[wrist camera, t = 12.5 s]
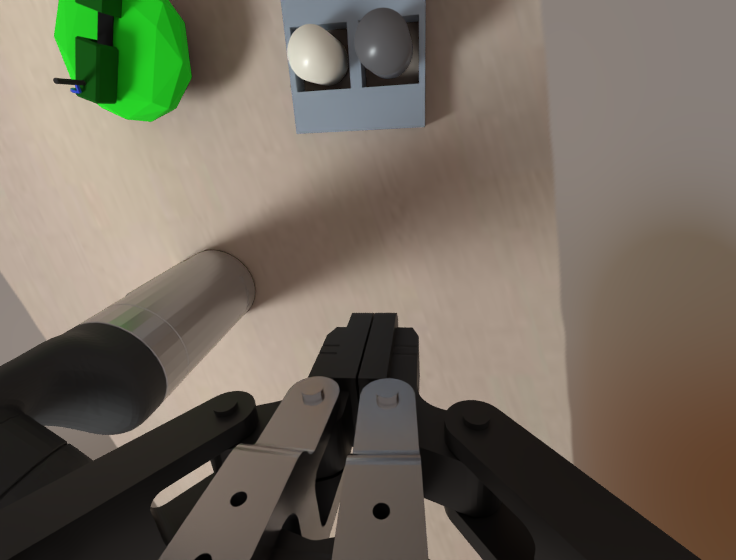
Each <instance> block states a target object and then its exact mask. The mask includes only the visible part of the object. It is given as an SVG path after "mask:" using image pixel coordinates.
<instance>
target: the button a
mask: <svg viewBox="0 0 736 560" xmlns="http://www.w3.org/2000/svg"><path fill="white" fill-rule="evenodd" d="M287 55H288V60H289V64H290V66H291V68H292V70H293V71H294V72H295V74H296V75H297V76H299V77H300V78H302V79H303V80H306V81H309V82H313V83H317V84H320V85H324V86H332V85H335V84H337V83H339V82H340V81H341V80H342V79H343V78H344V76H345V74H346V72H347V69H348V55H347V52H346V49H345V47H344V46H343V44H342V43H341V42H340V41H339V40H337V39H336V38H335V37H334V36H332V35H331V34H330V33H329V32H327V31H326V30H325V29H324V28H322V27H320V26H318V25H315V24H306V25H303V26H301V27H299V28H298V29H296V30H295V31H294V33H293V34H292V36H291V37H290V40H289V43H288V48H287Z"/></svg>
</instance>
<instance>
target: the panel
mask: <svg viewBox="0 0 736 560" xmlns="http://www.w3.org/2000/svg"><path fill="white" fill-rule="evenodd" d="M281 6H282V15H283V23H284V32H285V40H286V48H288V43H289V40H290V37H291V36H292V34H293V33H294V31H295V30H296V29H298V28H299V27H301V26H303V25H306V24H315V25H318V26H320V27H322V28H324V29H325V30H335V29H345V28H347V35H348V50H349V66H350V82H351V88H350V89H336V90H322V91H308V92H305V86H304V80H303V79H302V78H300V77H299V76H297V75H296V74H295V72H294V71H293V70H292V68H291V66H290V64H289V60H288V65H289V73H290V82H291V90H292V98H293V107H294V115H295V124H296V132H297V134H301V133H320V132H339V131H358V130H377V129H395V128H414V127H425V34H426V0H281ZM383 7H385V8H390V9H393V10H395V11H396V12H398V13H399V14H400V15H401V16H402V17H403V18H404V20H405V22H406V23H407V22H418V21H419V84H406V85H392V86H378V87H366V73H365V66H364V65H363V64H362V63H361V62H360V60H359V58H358V56H357V54H356V51H355V45H354V38H355V32H356V29H357V26H358V24H359V22H360V21H361V19H362V18H363V17H364V16H365V15H366V14H367V13H368V12H370V11H371V10H373V9H376V8H383ZM287 57H288V55H287Z"/></svg>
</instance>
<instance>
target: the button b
mask: <svg viewBox="0 0 736 560" xmlns="http://www.w3.org/2000/svg"><path fill="white" fill-rule="evenodd" d="M354 45H355V51H356V54H357V56H358V58H359V60H360V62H361V63H362V64H363V65H364V66H365V67H366V68H367V69H369V70H370V71H371V72H373V73H374V74H375V75H377V76H379V77H381V78H384V79H392V78H396V77H398V76H400V75H401V74H402V73H404V72H405V70H406V69H407V68H408V66H409V64H410V62H411V59H412V55H413V46H412V41H411V37H410V33H409V29H408V26H407V24H406V22H405V20H404V18H403V17H402V16H401V15H400V14H399V13H398V12H396V11H395V10H393V9H390V8H385V7H383V8H376V9H373V10H371V11H370V12H368V13H367V14H366V15H365V16H364V17H363V18H362V19H361V21H360V22H359V24H358V26H357V29H356V32H355V38H354Z"/></svg>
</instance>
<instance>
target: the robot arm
mask: <svg viewBox="0 0 736 560" xmlns="http://www.w3.org/2000/svg"><path fill="white" fill-rule="evenodd" d="M254 297H255V286H254V282H253V279H252V277H251V275H250V273H249V271H248V270H247V269H246V267H245V266H244V265H243V264H242V263H241V262H240V261H239V260H238V259H236V258H234V257H233V256H231V255H229V254H227V253H224V252H221V251H216V250H207V251H203V252H200V253H198V254H196V255H194V256H193V257H191V258H189V259H188V260H186V261H184V262H180V263H178V264H177V265H175V266H173V267H172V268H170V269H168V270H167V271H165V272H163V273H162V274H160V275H158V276H156V277H155V278H153V279H151V280H150V281H148V282H146V283H145V284H143V285H141V286H140V287H138V288H136V289H135V290H133V291H131V292H129V293H128V294H127V295H126V296H125V297H124V298H122V299H120V300H119V301H117V302H115V303H114V304H112V305H110V306H109V307H107V308H106V309H104V310H102V311H101V312H99V313H97V314H96V315H94V316H92V317H91V318H89V319H87V320H86V321H84V322H82V323H81V324H79V325H77V326H76V327H74V328H72V329H70V330H69V331H67V332H65V333H64V334H62V335H59V336H57V337H54V338H51V339H49V340H47V341H45V342H43V343H41V344H39V345H37V346H36V347H34V348H32V349H31V350H29V351H27V352H26V353H23V354H22V355H20V356H18V357H17V358H15V359H13V360H11V361H9V362H7V363H5V364H3V365H2V366H0V560H430V559H428V548H427V535H426V521H425V508H424V498H426V499H428V500H431V501H433V502H436V503H438V504H440V505H443V506H444V508H445V511H446V514H447V516H448V517H449V519H450V520H451V522H452V523H453V524H454V525H455V526H456V528H457V529H458V530H459V531H460V532H461V534H462V535H463V536H464V537H465V539H466V540H467V541H468V542H469V543H470V545H471V546H472V547H473V548H474V549H475V551H476V552H477V553H478V554H479V555H480V557H481V558H482V559H483V560H701V559H700V558H698V557H697V556H696V555H694V554H693V553H692V552H690V551H689V550H688V549H686V548H685V547H684V546H682V545H681V544H679V543H678V542H677V541H675V540H674V539H673V538H671V537H670V536H669V535H667V534H666V533H665V532H663V531H662V530H661V529H659V528H658V527H657V526H655V525H654V524H652V523H651V522H650V521H648V520H647V519H646V518H644V517H643V516H642V515H640V514H639V513H638V512H636V511H635V510H634V509H632V508H631V507H630V506H628V505H627V504H625V503H624V502H623V501H621V500H620V499H619V498H617V497H616V496H615V495H613V494H612V493H611V492H609V491H608V490H606V489H605V488H604V487H603V486H601V485H600V484H598V483H597V482H596V481H595V480H593V479H592V478H590V477H589V476H588V475H586V474H585V473H584V472H582V471H581V470H580V469H578V468H577V467H576V466H574V465H573V464H572V463H570V462H569V461H568V460H566V459H565V458H564V457H562V456H561V455H559V454H558V453H557V452H555V451H554V450H553V449H551V448H550V447H549V446H547V445H546V444H545V443H543V442H542V441H541V440H539V439H538V438H537V437H535V436H534V435H532V434H531V433H530V432H528V431H527V430H526V429H524V428H523V427H522V426H520V425H519V424H518V423H516V422H515V421H514V420H512V419H511V418H510V417H508V416H507V415H506V414H504V413H503V412H501V411H500V410H499V409H497V408H496V407H494V406H492V405H490V404H488V403H485V402H482V401H476V400H466V401H461V402H458V403H455V404H453V405H452V406H451V407H450V408H448V410H443V409H440V408H437V407H434V406H432V405H430V404H429V403H427V402H426V401H424V400H423V399H422V398H421V396H420V395H419V377H420V373H419V336H418V335H417V333H416V332H415V330H414V329H413V328H400V327H398V316H397V313H375V314H374V313H352V315H351V317H350V320H349V323H348V325H347V327H337V328H335V329H334V330H333V331H332V332H331V333H329V334H328V335H327V337H326V339H325V341H324V343H323V346H322V348H321V350H320V352H319V354H318V357H317V359H316V361H315V363H314V365H313V367H312V370H311V372H310V374H309V376H308V378H306V379H303V380H300V381H299V382H297V383H295V384H294V385H293V386H292V387H291V388H290V389H289V390H288V392H287V393H286V395H285V397H284V398H283V400H281V401H278V402H273V403H268V404H263V405H258V406H256V404H255V400H254V398H253V396H252V395H250V394H249V393H247V392H243V391H232V392H227V393H224V394H221V395H218V396H216V397H214V398H212V399H210V400H208V401H207V402H205V403H203V404H201V405H199V406H197V407H195V408H193V409H191V410H189V411H187V412H186V413H184V414H182V415H180V416H178V417H176V418H174V419H172V420H170V421H168V422H166V423H165V424H163V425H161V426H159V427H157V428H155V429H153V430H151V431H149V432H147V433H145V434H144V435H142V436H140V437H138V438H136V439H134V440H132V441H130V442H128V443H126V444H124V445H123V446H121V447H119V448H117V449H115V450H113V451H111V452H110V453H107V454H106V455H103V456H102V457H100V458H98V459H96V460H94V461H93V460H92V459H90V458H89V457H87V456H86V455H85V454H84V453H82V452H81V451H79V450H78V449H77V448H75V447H74V446H72V445H71V444H67V441H65V440H64V439H62V438H61V437H59V436H58V435H56V434H55V433H53V432H52V431H50V430H49V429H47V428H46V427H44V426H45V425H47V426H59V427H66V428H71V429H76V430H81V431H85V432H89V433H94V434H102V435H114V434H121V433H125V432H128V431H131V430H133V429H135V428H136V427H138V426H139V425H141V424H142V423H143V422H144V421H145V420H146V419H147V418H148V417H149V416H150V415H151V414H152V413H153V412H154V411H155V410H156V409H157V408H158V407H159V406H160V404H161V403H162V402H163V401H164V400H165V399H166V398H167V397H168V396H169V395H170V394H171V393H172V392H173V390H174V389H175V388H176V387H177V386H178V385H179V384H180V383H181V382H182V381H183V379H184V378H185V377H186V376H187V375H188V374H189V373H190V372H191V371H192V370H193V369H194V368H195V367H196V366H197V364H198V363H199V362H200V361H201V360H202V359H203V358H204V357H205V356H206V355H207V354H208V353H209V352H210V351H211V349H212V348H213V347H214V346H215V345H216V344H217V343H218V342H219V341H220V340H221V339H222V338H223V337H224V336H225V334H226V333H227V332H228V331H229V330H230V329H231V328H232V327H233V326H234V325H235V324H236V323H237V322H238V321H239V319H240V318H241V317H242V316H243V315H244V314H245V313H246V312H247V311H248V310H249V308H250V307H251V306H252V304H253V301H254ZM352 447H353V454H350V453H351V448H352ZM208 461H211V464H212V467H213V471H214V473H213V474H211V475H209V476H208V477H206V478H205V479H203V480H202V481H200V482H199V483H197V484H196V485H194V486H193V487H191V488H189V489H188V490H186V491H185V492H183V493H182V494H180V495H179V496H177V497H176V498H174V499H173V500H171V501H169V502H168V503H166V504H165V505H163V506H160V507H157V508H152V507H150V506H151V503H152V501H153V499H154V498H155V497H156V495H157V494H158V493H159V492H161V491H162V490H163V489H165V488H166V487H168V486H170V485H171V484H173V483H174V482H176V481H178V480H179V479H181V478H182V477H184V476H186V475H187V474H189V473H190V472H192V471H194V470H195V469H197V468H198V467H200V466H202V465H203V464H205V463H206V462H208ZM339 503H340V506H339ZM338 507H339V513H338V520H337V526H336V533H335V537H333V538H329V536H330V533H331V530H332V526H333V523H334V520H335V516H336V513H337V510H338Z"/></svg>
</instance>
